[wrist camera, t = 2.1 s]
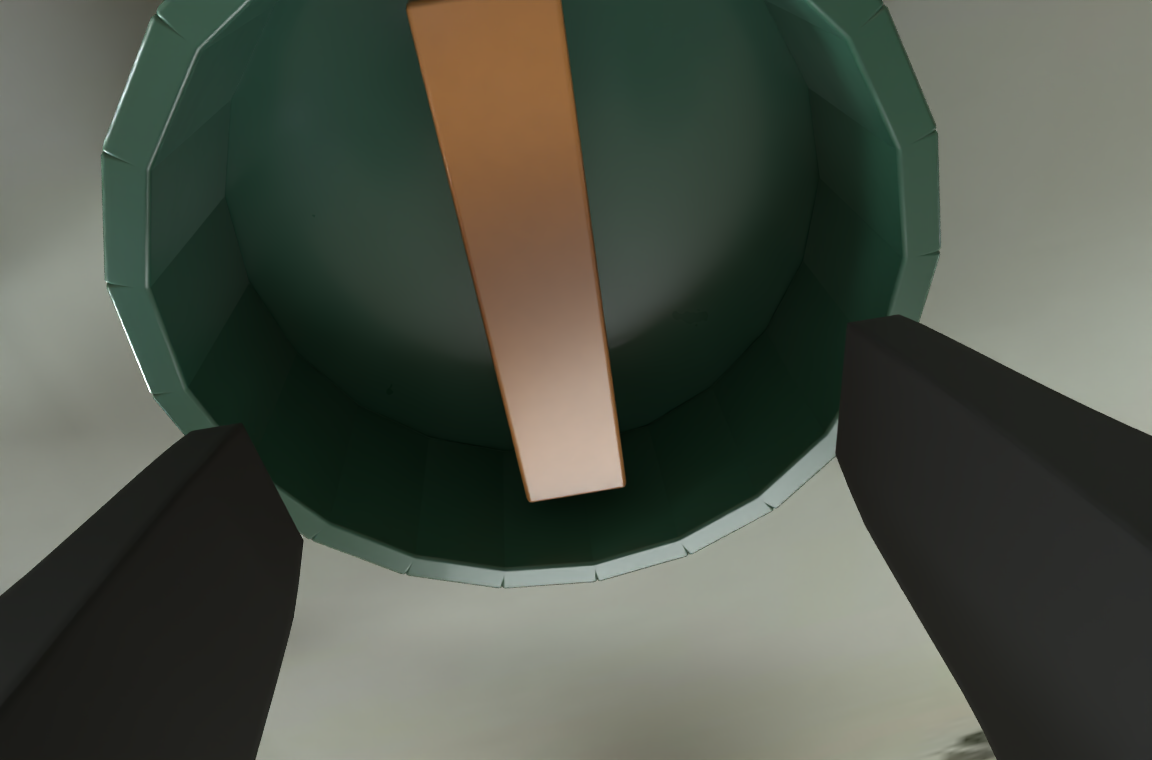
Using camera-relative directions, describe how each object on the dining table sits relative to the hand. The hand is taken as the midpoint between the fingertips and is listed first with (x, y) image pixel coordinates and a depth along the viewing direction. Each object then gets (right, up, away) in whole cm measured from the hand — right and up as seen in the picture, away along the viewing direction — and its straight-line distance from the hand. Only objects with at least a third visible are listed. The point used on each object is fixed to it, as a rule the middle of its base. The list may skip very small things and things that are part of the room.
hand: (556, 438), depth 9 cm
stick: (-1, +4, +5) cm, 6 cm away
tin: (-1, +4, +5) cm, 7 cm away
